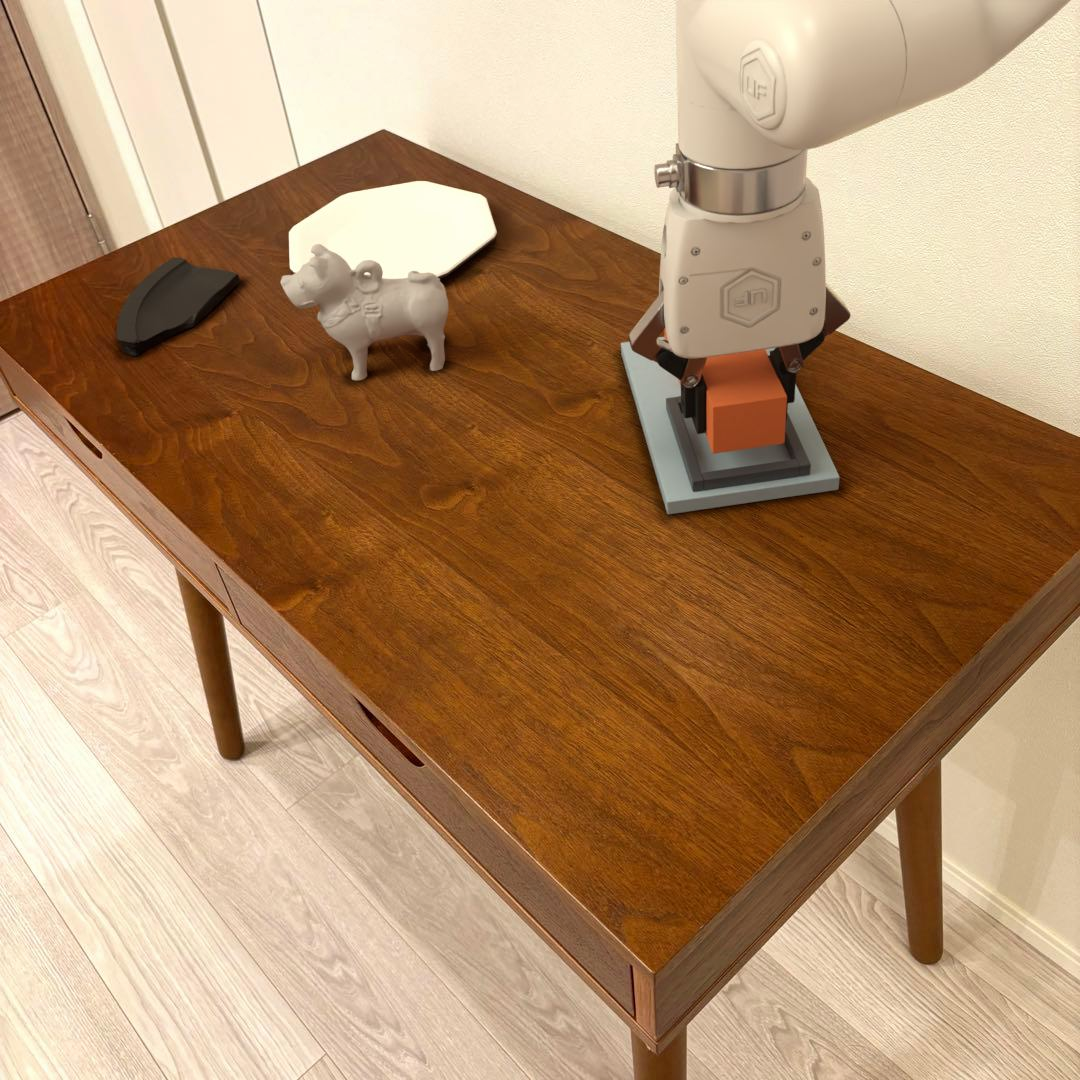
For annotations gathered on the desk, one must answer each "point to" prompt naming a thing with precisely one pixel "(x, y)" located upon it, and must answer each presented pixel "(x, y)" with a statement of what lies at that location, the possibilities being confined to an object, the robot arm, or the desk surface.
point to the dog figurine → (370, 304)
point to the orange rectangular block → (743, 402)
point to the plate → (398, 229)
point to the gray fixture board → (726, 476)
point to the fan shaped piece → (170, 303)
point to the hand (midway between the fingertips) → (737, 414)
